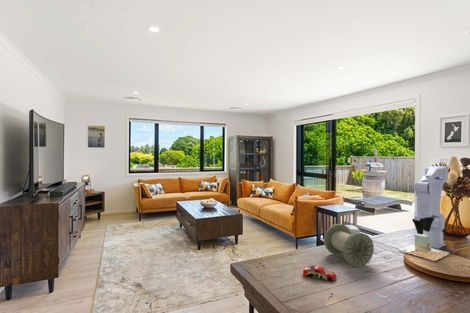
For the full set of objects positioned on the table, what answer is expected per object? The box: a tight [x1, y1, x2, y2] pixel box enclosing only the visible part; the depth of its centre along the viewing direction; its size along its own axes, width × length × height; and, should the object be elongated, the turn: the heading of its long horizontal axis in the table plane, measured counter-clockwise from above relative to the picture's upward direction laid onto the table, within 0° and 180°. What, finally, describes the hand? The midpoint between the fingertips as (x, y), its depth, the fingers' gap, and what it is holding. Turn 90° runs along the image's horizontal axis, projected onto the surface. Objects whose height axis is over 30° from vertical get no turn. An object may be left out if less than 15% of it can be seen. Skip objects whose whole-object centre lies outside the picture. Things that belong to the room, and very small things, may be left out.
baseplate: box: [398, 243, 450, 255], centre depth 134 cm, size 16×16×1 cm
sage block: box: [414, 232, 430, 245], centre depth 134 cm, size 5×5×4 cm
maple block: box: [414, 242, 432, 253], centre depth 134 cm, size 5×5×4 cm
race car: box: [302, 265, 337, 282], centre depth 110 cm, size 13×5×4 cm, turn 66°
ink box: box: [344, 224, 361, 235], centre depth 140 cm, size 9×5×12 cm, turn 179°
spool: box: [323, 223, 375, 268], centre depth 127 cm, size 16×15×15 cm
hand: (423, 232), depth 133 cm, fingers open, 7 cm apart
